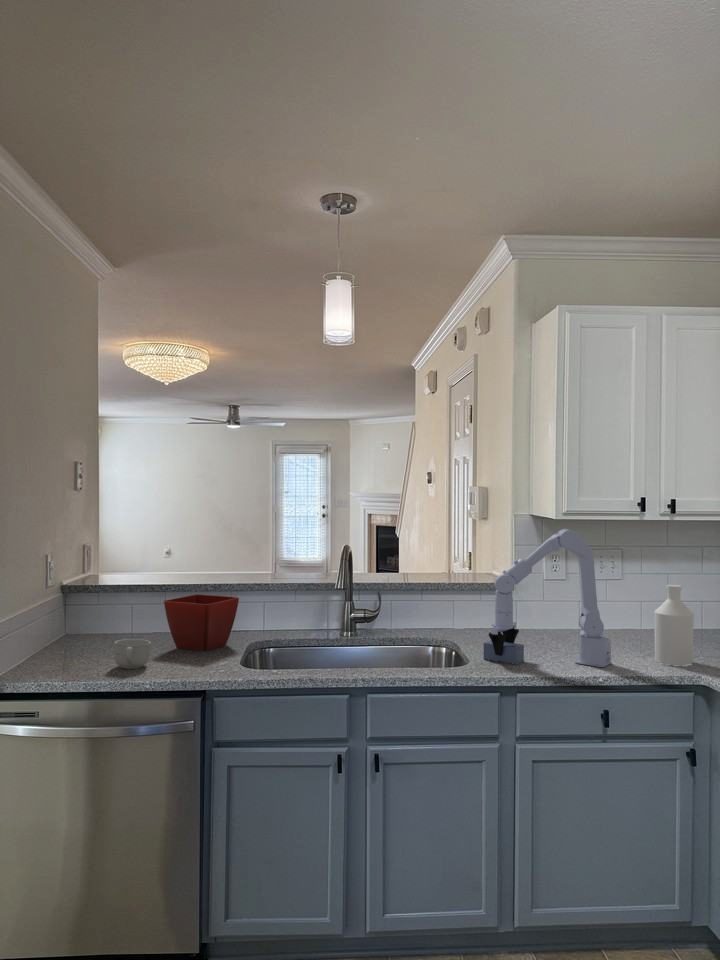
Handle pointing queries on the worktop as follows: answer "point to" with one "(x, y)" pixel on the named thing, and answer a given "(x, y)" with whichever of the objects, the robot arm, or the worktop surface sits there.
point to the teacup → (131, 653)
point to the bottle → (673, 630)
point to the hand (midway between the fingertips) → (503, 653)
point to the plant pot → (201, 620)
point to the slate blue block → (505, 652)
